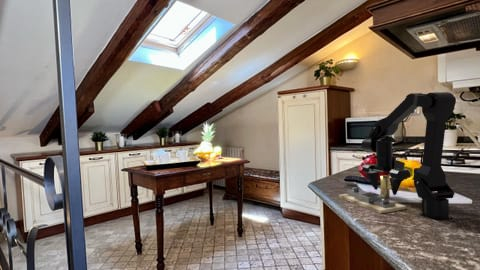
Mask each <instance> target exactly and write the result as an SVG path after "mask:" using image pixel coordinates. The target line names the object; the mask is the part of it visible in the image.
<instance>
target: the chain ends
mask: <svg viewBox="0 0 480 270" xmlns="http://www.w3.org/2000/svg"><path fill="white" fill-rule="evenodd" d="M346 194H347V195H349V196H352V197H354V198H355V199H356V200H359V201H362V202H365V203H367V204H374V205H377V206H380V207H383V208H387V207H393V206H395V203H396V202H394V201H391V202H390V199H385V196H383V195H381V193H380V194H379V193H377V192H373V191H365V190H363V189H360V188H359V187H358V186H353V187H352V188H351V189H347V190H346ZM393 202H394V203H393Z"/></svg>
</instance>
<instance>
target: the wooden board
mask: <svg viewBox="0 0 480 270" xmlns="http://www.w3.org/2000/svg"><path fill="white" fill-rule="evenodd" d="M338 198H340V199H342V200H345V201H348V202H351V203H352V204H356V205H358V206H361V207H363V208H365V209H368V210H370V211H373V212H376V213H379V214H384V213H385V214H386V213H391V212H397V211H401V210H402V211H403V210H407V206H406V205H403V204H400V203H396V202H394V201H390V200H389V201H390V202H393V203H395V206H393V207H387V208H383V207H380V206H377V205H374V204H367V203H365V202H362V201H359V200H356V199H355V198H354V197H352V196H349V195H347V193H342V194H338Z"/></svg>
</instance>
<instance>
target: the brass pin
mask: <svg viewBox="0 0 480 270" xmlns="http://www.w3.org/2000/svg"><path fill="white" fill-rule="evenodd" d="M379 177H380V178H379V179H380V182H379V183H380V184H379V185H380V195H383V196H385V199H389V200H390V199H391V196H390V195H391V193H390V189H391V188H390V187H391V186H390V179H389V178H390V175H386V174H385V175H383V174H382V175H381V174H380V175H379Z"/></svg>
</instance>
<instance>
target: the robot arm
mask: <svg viewBox="0 0 480 270" xmlns="http://www.w3.org/2000/svg"><path fill="white" fill-rule="evenodd" d="M456 103H457V99H456V96H454V95H453V93H451V92H445V91H444V92H442V91H441V92H440V91H439V92H428V93H422V92H411V93H408V94H406V96H405V98H404V100H403V101H401V102H400V103H399V104H398V105H397V106H396V107H395V108H394V109H393V110H392V111H391V112H390V113H389V114H388V115H387V116H386V117H384V118H381V119H379V120H377V121H376V122H374V123H373V125H372V127H371V129H370V132H369V133H368V135H365V138H364V139H363V140H362V141H361V144H360V146H361V149H362V150H363V151H365V152H371V153H375V154H376V155H373V159H375V160H376V161H375V163H376V164H374V163H369V164H368V163H367V164H363V165H362V167H361V168H362V169H361V171H362V172H364V174H365V175H366V176H367V178H368V180H369V181H370V183H371V184H372V185H371V186H372V188H373V189H374V190H375V191H376V190H378V189H379V177H380V175H381V174H382V173H383V174H388V175H389V185H390V187H391V188H390V189H391V192H392V195H393V196H396V195H397V194H398V191H399V189H400V186H401V184H402V183H403V181H405V180H407V179H409V178H411V171H410V170H409V169H405V165H406V162H404V161H402V160H401V161H400V160H398V159H397V158H396V156H395V155H393V143H397V140H396V139H395V138H394V137H393V135H394V134H395V133H396V132H397V131H398V129H399V125H400V124H401V123H402V122H403V121H404V120H405V119H406V118H408V117H409V116H410V115H411V114H412V113H413V112H414V111H415V110H417V108H421V112H422V114H423V116H424V118H425V121H426V122H425V123H426V124H425V133H424V141H423V142H424V144H423V150H422V152H423V154H422V160H421V162H422V163H421V165H420V166H419V167H414V169H413V175H412V176H413V177H412V179H411V180H412V181H413V185H414V187H415V191H416V195H417V198H419V199H421V212H419V214H418V215H419V216H421V217H424V218H427V219H430V220H433V221H436V222H441V221H447V220H451V219H453V216H452V215H450V204H449V201H450V199H453V198H454V197H455V194H456V193H455V191H454V190H453V189H452V188H451V185H449V184H448V183H447V179H446V172H445V171H444V169H443V167H442V158H443V151H444V142H445V136H446V135H445V133H446V126H447V125H446V124H447V121H448V120H449V119H450V117H451V115H453V113H454V110H455V106H456Z"/></svg>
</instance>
